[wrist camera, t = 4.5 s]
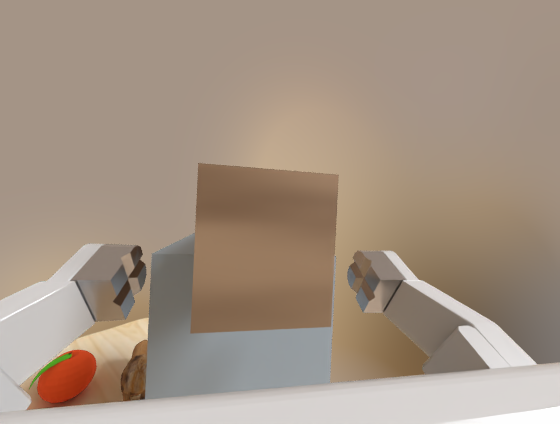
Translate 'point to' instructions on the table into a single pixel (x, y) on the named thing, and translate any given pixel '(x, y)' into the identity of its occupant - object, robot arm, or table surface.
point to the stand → (220, 342)
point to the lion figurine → (135, 373)
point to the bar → (263, 249)
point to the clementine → (66, 376)
